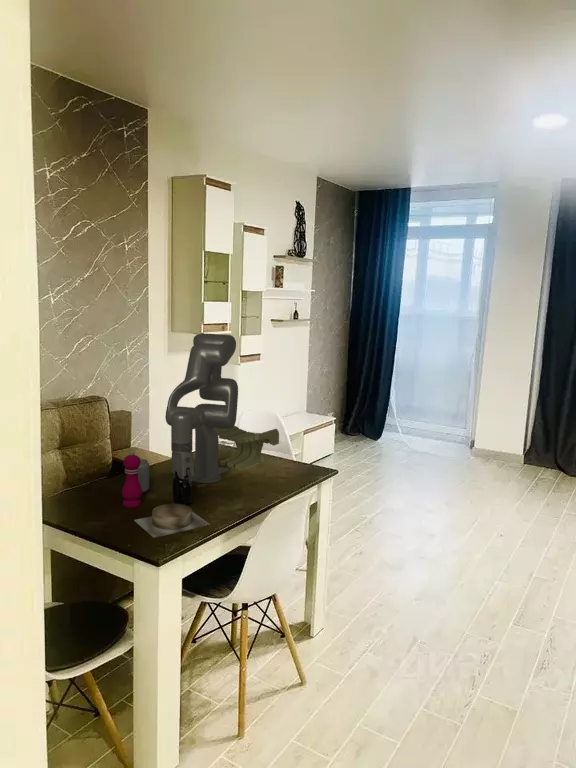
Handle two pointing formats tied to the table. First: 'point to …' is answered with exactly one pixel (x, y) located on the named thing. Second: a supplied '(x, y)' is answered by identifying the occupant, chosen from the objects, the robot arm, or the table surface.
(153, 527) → the pedestal
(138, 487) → the pepper mill
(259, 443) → the slatted curved stool
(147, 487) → the can
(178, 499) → the supplement bottle
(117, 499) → the table surface
